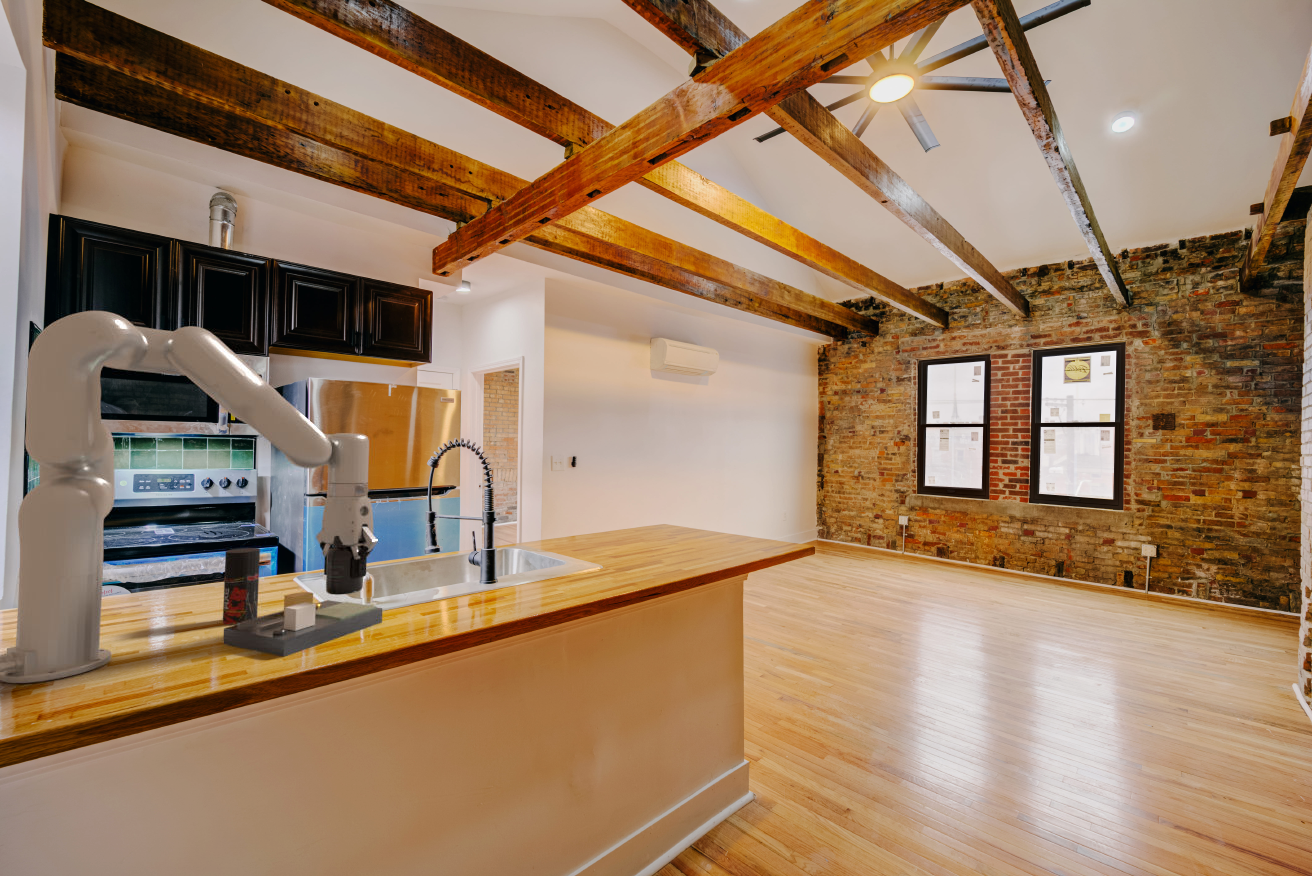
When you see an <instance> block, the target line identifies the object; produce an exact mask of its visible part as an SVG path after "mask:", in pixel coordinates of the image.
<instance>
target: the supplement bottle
mask: <svg viewBox="0 0 1312 876" xmlns="http://www.w3.org/2000/svg"><path fill="white" fill-rule="evenodd" d="M358 542H359V541H358ZM333 544H334V546H333V547H332V548H330V549H329V550H328V552H327V572H326V575H325V576H326V577H325V578H326V579H325V592H326V593H327V594H328V595H335V596H336V595H349V594H355V593H358V592H360V591H362V590H363V589H364V576H363V577H359V578H355V579H353V578H352V577H351V568H352V559H355V558H354V555H353V552H352V549H351V546H344V545H341V544H343V543H342V542H341V540H340V537H339V536H334V542H333ZM358 549H359V551H360V550H361V548H360V547H358Z"/></svg>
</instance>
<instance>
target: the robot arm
mask: <svg viewBox="0 0 1312 876" xmlns="http://www.w3.org/2000/svg"><path fill="white" fill-rule="evenodd" d="M103 367H106V368H111V369H116V370H125V371H133V372H134V371H135V372H144V373H155V374H165V375H175V376H186V377H187V378H188V379H189V380H191V382H193V383H194V384H195V385H196V386H198V387H199V388H200V389H201V390H202V391H203V392H205V394H207V395H208V396H209V397H210V398H212V400H214V401H215V402H216V403H217V404H218V405H220V407H222V408H223V409H224V410H225V411H227V412H228V413H229V414H231V416H232V417H234V418H236V419H237V420H239V421H241V422H243V423H245V424H247V425H248V426H249V427H251V428H252V429H253V430H255V432H257V433H259V434H260V435H261V436H262V437H264V438H265V439H266V440H267V441H268V442H270V443H271V445H273V446H274V447H275V448H276V449H277V450H278V451H280V452H281V453H282V454H283V455H284V457H285V458H286V459H287V461H289V462H290V463H291V464H292V465H294V466H296V467H299V468H304V469H316V468H319V467H321V466H327V486H326V487H327V492H326V493H327V494H326V498H325V502H324V507H323V511H322V512H323V513H322V521H321V530H320V531H319V532H318V533H317V534H316V536H315V538H316V540H317V543H318V544H319V547H320V549H321V551H322V556H323V557H324V566H323V567H324V568H323V574H324V575H325V576H326V572H327V552H328V550H329V549H330V548H332V547H333V546H334V544H333V542H334V536H339V537H340V540H341V542H342V543H343V544H341V545H344V546H351V549H352V552H353V555H354V558H355V559H352V568H351V577H352V578H353V579H355V578H359V577H363V578H364V577H365V576H367V560H368V559H367V558H369V557H370V554H371V553H372V552H373V549H374V548H375V546H376V545H377V543H378V539H377V537H376V536H375V535H374V515H373V513H374V512H373V506H372V501H371V498H370V497H368V493H369V491H370V489H369V487H368V486H369V457H370V456H369V455H370V440H369V437H368V436H367V435H366V434H364V433H353V432H352V433H344V432H343V433H342V432H340V433H333V434H331V433H330V434H329V433H324V432H323V431H322V430H320V429H319V428H318V427H317V426H316V425H315V424H314V423H313V422H311V420H309V419H308V418H307V417H306V416H305V415H304V414H303V413H302V412H300V411H299V410H298V409H297V408H296V407H295V406H294V405H292V404H291V403H290V402H289V401H287V400H286V398H284V396H282V395H281V394H280V393H279V392H278V391H277V390H276V389H275V388H274V387H273V386H272V385H270V384H269V383H268V382H267V380H265V379H264V378H263V377H262V376H260V375H259V373H257V372H256V371H255V370H254V369H252V367H250V365H248V364H247V363H246V362H245V361H244V360H242V358H241V357H239V356H238V355H237V354H236V353H235V352H234V351H233V350H232V349H230V348H229V346H227V345H226V344H225V343H224V342H223V341H222V340H221V339H220V338H218V337H217V336H216V335H214V334H213V333H212V332H211V331H209V330H208V329H205V328H202V327H200V326H192V325H191V326H184V327H179V328H177V329H175V330H174V331H172V330H163V329H156V328H149V327H145V326H144V327H143V326H137V325H134V324H133V323H132V322H130V321H129V320H128V319H126V318H124V317H123V316H121V315H119V314H116V313H113V312H109V311H106V310H105V311H103V310H87V311H82V312H80V311H79V312H77V313H72V314H69V315H67V316H64V317H62V318H60V319H58V320H56V321H53V322H52V323H50V324H49V325H48V326H46V327H45V328H44V329H43V330H42V331H41V332H40V333H39V334H38V336H37V337H36V338H35V339H34V341H33V343H32V345H31V348H30V351H29V355H28V360H27V372H26V373H27V376H26V381H27V382H26V399H25V401H26V402H25V403H26V406H25V407H26V408H25V409H26V410H25V413H26V415H25V419H26V421H25V422H26V423H25V424H26V425H25V436H24V437H25V438H24V439H25V441H24V442H25V449H26V451H27V454H28V455H29V457H31V459H32V460H33V461H35V463H37V464H39V466H38V470H39V484H38V485H36V486H35V487H33V488H32V489H30V490H29V492H28V493H27V494H26V495H25V496H24V498H23V499H22V501H21V503H20V505H19V509H18V514H17V515H18V516H17V526H18V527H17V528H18V538H19V573H18V579H19V581H18V597H17V618H16V619H17V620H16V637H15V646H11V647H8V648H6V653H4V654H3V653H2V654H0V681H1V682H4V683H7V684H8V683H9V684H28V683H30V684H31V683H39V682H47V681H53V680H57V679H62V678H66V677H71V676H76V675H79V674H82V673H86V672H89V671H93V670H95V669H97V668H98V669H99V668H100V667H102V666H104V665H105V664H107V663H108V662H110V661H111V659H112V652H111V651H110V650H109V649H105V648H100V638H101V635H100V634H101V621H102V620H101V617H102V616H101V615H102V597H103V594H102V593H103V577H104V570H103V569H104V521H105V518H106V517H107V516H108V515H109V514H110V512H111V511H112V509H113V507H114V504H115V495H116V494H115V491H116V490H115V443H114V438H113V434H112V432H111V431H110V429H109V428H108V427H107V426H106V425H105V424H104V423H103V422H102V415H101V411H102V409H101V407H102V406H101V398H102V387H101V371H102V369H103ZM358 541H359V542H358ZM358 547H360V548H361V550H360V551H359V549H358Z"/></svg>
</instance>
